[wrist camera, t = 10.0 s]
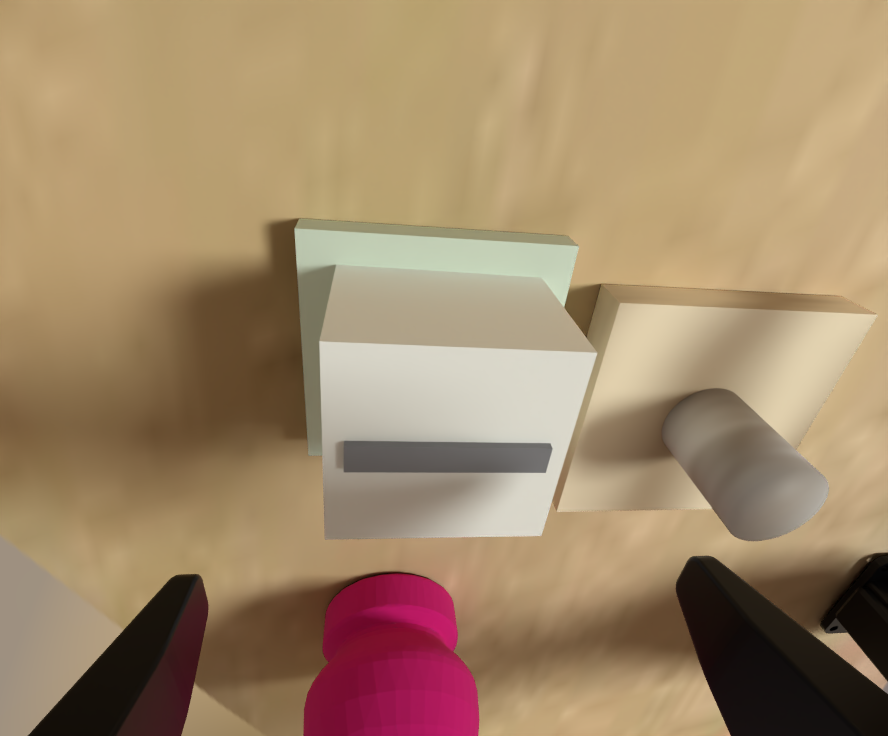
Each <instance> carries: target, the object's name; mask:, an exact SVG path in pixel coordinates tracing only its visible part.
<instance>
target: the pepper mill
mask: <svg viewBox="0 0 888 736" xmlns="http://www.w3.org/2000/svg"><path fill="white" fill-rule="evenodd" d="M457 640H458V632H457V625H456V618H455V611H454V604H453V601H452V598H451V596H450V595H449V593H448V592H447V591H446V590H445V589H444V588H443V587H442V586H440V585H438V584H437V583H435V582H434V581H432V580H430V579H427V578H424V577H420V576H416V575H410V574H398V573H396V574H385V575H378V576H374V577H370V578H366V579H362V580H360V581H358V582H356V583H354V584H352V585H350V586H348V587H346V588H344V589H343V590H342V591H341V592H340V593H339V594H337V595H336V596H335V597H334V598H333V600H332V601H331V603H330V604H329V606H328V608H327V610H326V616H325V626H324V637H323V654H324V657H325V658H326V660H327V661H328V662H329V663H328V664H327V665H326V666H325V667H324V668H323V669H322V670H321V672H320V673H319V674H318V676H317V677H316V679H315V680H314V682H313V683H312V686H311V688H310V690H309V692H308V694H307V698H306V703H305V708H304V734H303V736H478V731H479V708H478V694H477V688H476V685H475V681H474V678H473V676H472V674H471V672H470V671H469V669H468V668H467V666H466V665H465V664H464V662H463V661H462V660H461V659H460V658H459V657H458V656H457V655H456V654H455V653H454V652H453V651H454V649H455V647H456V644H457Z"/></svg>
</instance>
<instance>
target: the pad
mask: <svg viewBox="0 0 888 736" xmlns="http://www.w3.org/2000/svg"><path fill="white" fill-rule="evenodd" d="M294 229H295V245H296V262H297V278H298V294H299V310H300V326H301V342H302V358H303V374H304V391H305V407H306V423H307V439H308V455H309V456H322V420H321V383H320V347H319V341H320V336H321V332H322V327H323V323H324V318H325V313H326V309H327V304H328V300H329V295H330V291H331V286H332V281H333V277H334V272H335V268H336V264H337V265H353V266H369V267H384V268H400V269H416V270H432V271H447V272H463V273H479V274H495V275H510V276H526V277H542V279H543V280H544V281H545V283H546V284H547V285H548V287H549V288H550V289H551V291H552V292H553V294H554V295H555V296H556V298H557V299H558V300H559V302H560V303H561V304H562V306H563V307H564V306H565V302H566V298H567V294H568V290H569V285H570V281H571V277H572V273H573V269H574V265H575V261H576V256H577V252H578V248H579V246H578V245H577V244H576V243H575V242H574V241H573V240H572V239H571V238H570V237H569V236H562V235H547V234H532V233H516V232H501V231H485V230H470V229H455V228H439V227H424V226H409V225H393V224H378V223H363V222H347V221H332V220H316V219H301V218H300V219H299V221H298V223H297V224H296V226H295V228H294Z"/></svg>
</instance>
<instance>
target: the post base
mask: <svg viewBox="0 0 888 736" xmlns="http://www.w3.org/2000/svg"><path fill="white" fill-rule="evenodd" d="M877 316H878V314H876V313H874V312H872V311H870V310H868V309H866V308H864V307H862V306H860V305H858V304H856V303H854V302H852V301H850V300H848V299H846V298H844V297H842V296H826V295H806V294H787V293H767V292H748V291H728V290H709V289H689V288H669V287H650V286H630V285H611V284H601V287H600V291H599V294H598V298H597V302H596V305H595V309H594V312H593V316H592V320H591V323H590V327H589V331H588V334H587V339H588V341H589V342H590V343H591V345H592V346H593V347H594V349H595V350H596V351H597V356H596V359H595V362H594V366H593V369H592V372H591V375H590V379H589V382H588V385H587V389H586V392H585V395H584V398H583V402H582V405H581V408H580V411H579V415H578V418H577V421H576V424H575V428H574V431H573V434H572V437H571V441H570V444H569V447H568V450H567V454H566V457H565V460H564V463H563V467H562V470H561V473H560V476H559V480H558V483H557V486H556V489H555V493H554V496H553V499H552V501H553V504H554V506H555V509H556V511H557V512H574V511H629V510H685V509H713V510H714V511H715V513H716V514H717V515H718V517H719V518H720V519H721V521H722V522H723V523H724V525H725V526H726V527H727V529H728V530H729V531H730V533H731V534H732V535H734V536H735V537H737V538H739V539H742V540H746V541H762V540H768V539H772V538H776V537H779V536H782V535H784V534H787V533H789V532H791V531H793V530H795V529H796V528H798V527H800V526H801V525H803V524H804V523H806V522H807V521H808V520H810V519H811V518H812V517H813V516H814V515H815V514H816V513H817V512H818V511H819V510H820V508H821V507H822V506H823V504H824V502H825V500H826V498H827V495H828V491H829V486H828V482H827V480H826V478H825V477H824V476H823V475H822V474H821V473H820V472H819V471H818V470H817V469H816V468H815V467H814V466H813V465H811V464H810V463H809V462H808V461H807V460H806V459H805V458H804V457H803V456H802V455H801V454H800V453H799V452H798V451H796V449H797V448H798V446H799V444H800V443H801V441H802V439H803V438H804V436H805V435H806V433H807V431H808V430H809V428H810V426H811V425H812V423H813V421H814V420H815V418H816V416H817V415H818V413H819V411H820V410H821V408H822V406H823V405H824V403H825V401H826V400H827V398H828V397H829V395H830V393H831V392H832V390H833V388H834V387H835V385H836V383H837V382H838V380H839V378H840V377H841V375H842V373H843V372H844V370H845V368H846V367H847V365H848V364H849V362H850V360H851V359H852V357H853V355H854V354H855V352H856V350H857V349H858V347H859V345H860V344H861V342H862V340H863V339H864V337H865V335H866V334H867V332H868V331H869V329H870V327H871V326H872V324H873V322H874V321H875V319H876V317H877Z"/></svg>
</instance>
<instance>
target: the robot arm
mask: <svg viewBox="0 0 888 736" xmlns="http://www.w3.org/2000/svg"><path fill="white" fill-rule="evenodd" d="M676 593H677V597H678V600H679V603H680V606H681V609H682V612H683V615H684V618H685V621H686V623H687V626H688V629H689V632H690V635H691V638H692V641H693V644H694V647H695V650H696V653H697V656H698V659H699V662H700V665H701V667H702V670H703V673H704V675H705V678H706V680H707V683H708V685H709V687H710V690H711V692H712V694H713V696H714V699H715V701H716V703H717V706H718V708H719V710H720V712H721V715H722V717H723V719H724V721H725V724H726V726H727V728H728V730H729V733H730V735H731V736H888V694H887V693H886V692H884V691H883V690H882V689H881V688H879V687H878V686H877V685H876V684H874V683H873V682H872V681H871V680H869V679H868V678H867V677H866V676H864V675H863V674H862V673H860V672H859V671H858V670H857V669H855V668H854V667H853V666H852V665H850V664H849V663H848V662H846V661H845V660H844V659H843V658H841V657H840V656H839V655H838V654H836V653H835V652H834V651H833V650H831V649H830V648H829V647H827V646H826V645H825V644H824V643H822V642H821V641H820V640H819V639H817V638H816V637H815V636H814V635H812V634H811V633H810V632H808V631H807V630H806V629H805V628H803V627H802V626H801V625H800V624H798V623H797V622H796V621H794V620H793V619H792V618H791V617H789V616H788V615H787V614H786V613H784V612H783V611H782V610H781V609H779V608H778V607H777V606H775V605H774V604H773V603H772V602H770V601H769V600H768V599H767V598H765V597H764V596H763V595H762V594H760V593H759V592H758V591H756V590H755V589H754V588H753V587H751V586H750V585H749V584H748V583H746V582H745V581H744V580H743V579H741V578H740V577H739V576H737V575H736V574H735V573H734V572H732V571H731V570H730V569H729V568H727V567H726V566H725V565H723V564H722V563H721V562H720V561H718V560H717V559H715V558H714V557H711V556H693V557H691V558H689V559H688V561H687V563H686V565H685V566H684V568H683V570H682V572H681V574H680V576H679V577H678V579H677V582H676ZM207 617H208V600H207V596H206V592H205V588H204V584H203V580H202V578H201V576H200V575H198V574H183V575H176V576H174V577H172V578H171V579H170V580H169V581H168V582H167V583H166V584H165V585H164V586H163V587H162V588H161V590H160V591H159V592H158V593H157V594H156V595H155V596H154V597H153V598H152V600H151V601H150V602H149V603H148V604H147V605H146V606H145V607H144V608H143V609H142V611H141V612H140V613H139V614H138V615H137V616H136V617H135V618H134V619H133V620H132V622H131V623H130V624H129V625H128V626H127V627H126V628H125V629H124V630H123V632H122V633H121V634H120V635H119V636H118V637H117V638H116V639H115V640H114V641H113V643H112V644H111V645H110V646H109V647H108V648H107V649H106V650H105V651H104V653H103V654H102V655H101V656H100V657H99V658H98V659H97V660H96V661H95V662H94V664H93V665H92V666H91V667H90V668H89V669H88V670H87V671H86V672H85V673H84V674H83V676H82V677H81V678H80V679H79V680H78V681H77V682H76V683H75V684H74V686H73V687H72V688H71V689H70V690H69V691H68V692H67V693H66V694H65V695H64V696H63V698H62V699H61V700H60V701H59V702H58V703H57V704H56V705H55V706H54V708H53V709H52V710H51V711H50V712H49V713H48V714H47V715H46V716H45V717H44V719H43V720H42V721H41V722H40V723H39V724H38V725H37V726H36V727H35V729H34V730H33V731H32V732H31V733H30V734H29V735H28V736H181V734H182V731H183V727H184V724H185V720H186V717H187V713H188V708H189V704H190V699H191V695H192V689H193V685H194V680H195V676H196V671H197V666H198V661H199V656H200V651H201V646H202V641H203V637H204V632H205V627H206V622H207ZM820 626H821V627H822V628H823V630H824V631H825V632H826V633H847V632H848V634H849V635H850V636H851V637H852V638H853V640H854V641H855V642H856V643H857V645H858V646H859V647H860V648H861V649H862V651H863V652H864V653H865V654H866V656H867V657H868V658H869V659H870V660H871V662H872V663H873V664H874V665H875V667H876V668H877V669H878V670H879V671H880V673H881V674H882V675H883V676H884V678H885V679H886V680H887V681H888V556H881V557H879V558H877V559H875V560H874V561H872V562H871V564H870V565H869V566H868V567H867V568H866V570H865V571H864V572H863V573H862V574H861V576H860V577H859V578H858V579H857V580H856V582H855V583H854V584H853V585H852V586H851V588H850V589H849V590H848V591H847V592H846V593H845V595H844V596H843V597H842V598H841V599H840V601H839V602H838V603H837V604H836V605H835V607H834V608H833V609H832V610H831V611H830V613H829V614H828V615H827V616H826V617H825V619H824V620H823V621H822V622H821V624H820Z"/></svg>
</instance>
